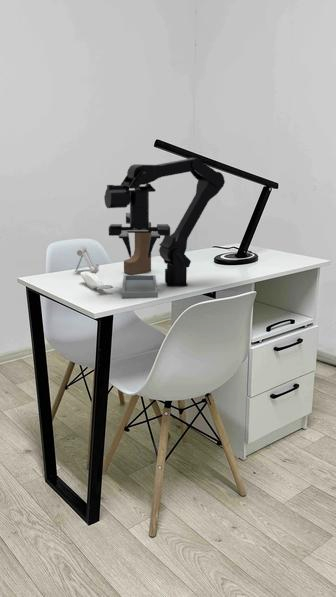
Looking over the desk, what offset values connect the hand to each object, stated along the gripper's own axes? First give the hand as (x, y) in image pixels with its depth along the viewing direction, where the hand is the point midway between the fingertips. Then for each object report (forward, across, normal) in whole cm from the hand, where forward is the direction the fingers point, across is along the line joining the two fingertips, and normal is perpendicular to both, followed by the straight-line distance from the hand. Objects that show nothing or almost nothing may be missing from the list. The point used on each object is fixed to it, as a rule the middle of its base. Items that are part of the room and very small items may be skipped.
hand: (139, 257), depth 174 cm
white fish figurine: (+10, +14, -2) cm, 18 cm away
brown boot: (+10, +1, -24) cm, 27 cm away
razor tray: (+10, 0, 0) cm, 10 cm away
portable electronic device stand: (+11, +19, -28) cm, 35 cm away
